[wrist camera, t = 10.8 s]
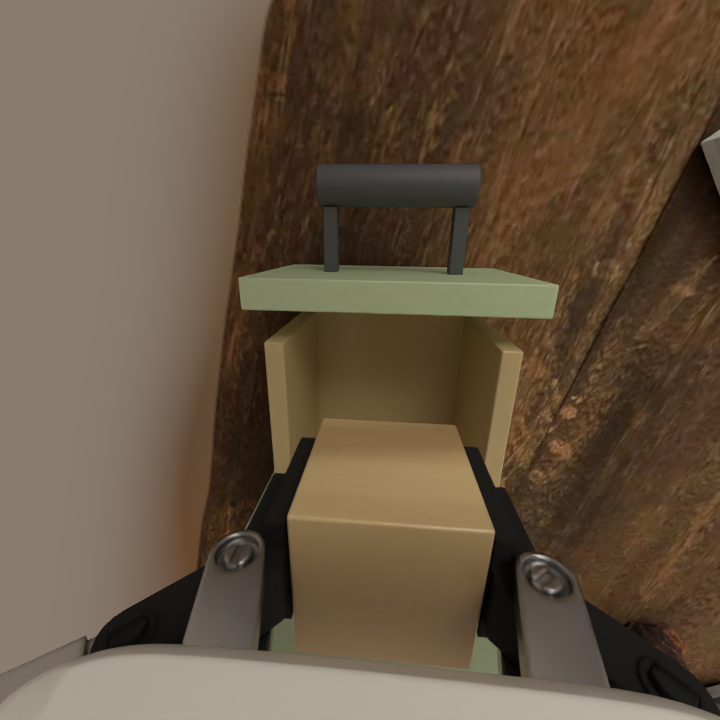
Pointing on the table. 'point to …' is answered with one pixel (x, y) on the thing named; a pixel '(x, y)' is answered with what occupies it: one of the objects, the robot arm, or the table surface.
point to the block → (388, 545)
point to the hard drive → (713, 156)
